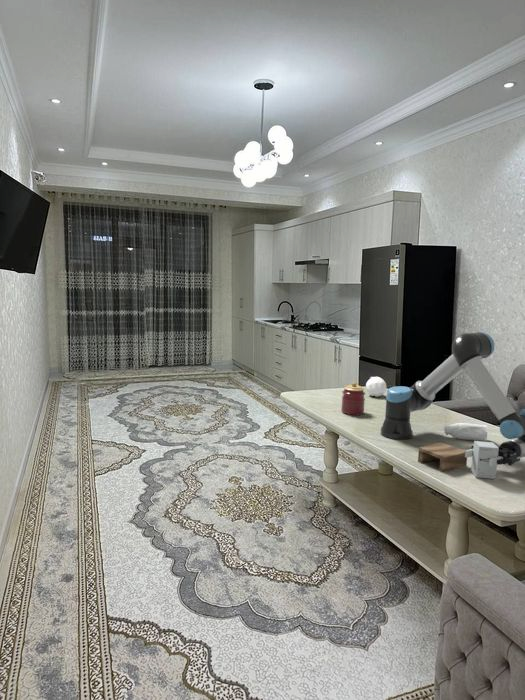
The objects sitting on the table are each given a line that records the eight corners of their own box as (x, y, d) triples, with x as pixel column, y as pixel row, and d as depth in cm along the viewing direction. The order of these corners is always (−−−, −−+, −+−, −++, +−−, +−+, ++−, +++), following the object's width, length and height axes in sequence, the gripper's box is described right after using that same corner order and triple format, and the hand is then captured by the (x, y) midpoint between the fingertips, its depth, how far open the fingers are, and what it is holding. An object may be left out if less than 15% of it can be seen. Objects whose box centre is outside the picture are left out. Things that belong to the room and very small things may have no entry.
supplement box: (475, 477, 187) (478, 446, 185) (470, 470, 194) (473, 440, 193) (496, 479, 186) (499, 447, 184) (490, 472, 193) (493, 441, 192)
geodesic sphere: (358, 388, 319) (371, 373, 315) (362, 384, 332) (375, 369, 327) (374, 403, 316) (389, 388, 311) (378, 398, 329) (392, 384, 324)
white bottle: (442, 435, 242) (444, 419, 241) (483, 438, 237) (485, 423, 236) (444, 439, 234) (446, 423, 233) (486, 443, 230) (488, 427, 229)
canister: (362, 410, 285) (364, 380, 282) (365, 416, 272) (367, 385, 270) (340, 409, 286) (342, 379, 284) (341, 414, 273) (343, 384, 271)
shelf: (417, 461, 204) (419, 447, 203) (440, 456, 211) (441, 442, 210) (443, 471, 193) (444, 457, 192) (466, 466, 200) (467, 452, 199)
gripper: (539, 468, 189) (503, 478, 178) (487, 450, 208) (452, 458, 197) (541, 449, 188) (505, 458, 177) (488, 433, 207) (454, 440, 196)
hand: (477, 458), depth 187 cm, fingers closed on supplement box, 10 cm apart
